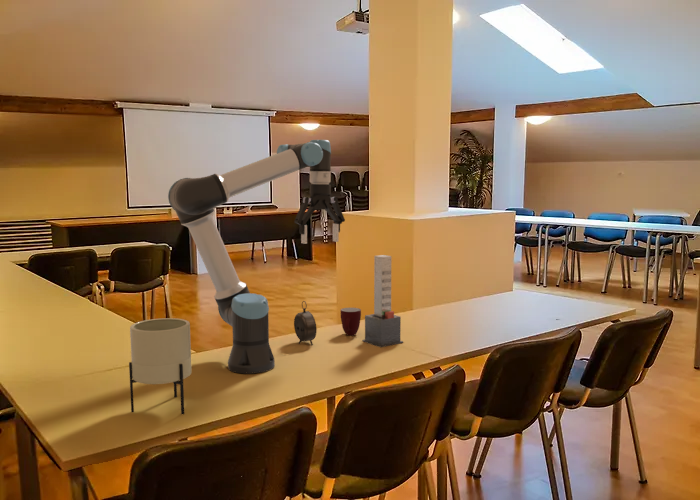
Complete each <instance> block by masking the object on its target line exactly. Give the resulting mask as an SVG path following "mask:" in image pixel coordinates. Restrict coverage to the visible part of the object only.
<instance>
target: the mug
mask: <svg viewBox="0 0 700 500" xmlns="http://www.w3.org/2000/svg"><path fill="white" fill-rule="evenodd" d="M361 317H362V309H361V308H358V307H344V308H340V322H341V326H342V330H343V332H344V333H345V335H346V336H349V337H350V336H356V334H357V333H358V331H359V329H360V323H361V319H362V318H361Z"/></svg>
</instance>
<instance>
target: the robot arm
mask: <svg viewBox="0 0 700 500" xmlns="http://www.w3.org/2000/svg"><path fill="white" fill-rule="evenodd" d="M331 147H332V146H331V142H330V141H329V140H328V139H311V140H309V142H305V143H297V144H280V145H278V146H277V150H276V153H275V154H273V155H270V156H268V157H265V158H262V159H260V160H257V161H255V162H252V163H249V164H246V165H243V166H241V167H239V168H236V169H233V170H230V171H228V172H225V173H222V174H217V173H213V174H210V175H208V176H203V177H197V178H196V177H194V178H193V177H192V178H191V177H183V178H180V179H178V180H177V181H175V182H174V183H173V184H172V185H171V186H170V188H169V189H168V193H167V194H168V196H167V198H168V203H169V205H170V207H171V208H172V209H173V210H174V212H175V213H176V216H177V217H178V220H179V222H180V225H181V226H184V227H186V228H188V230H189V233H190V235H191V237H192V239H193V242H194V244H195V246H196V248H197V251H198V253H199V255H200V257H201V259H202V262H203V264H204V266H205V268H206V271H207V273H208V275H209V277H210V281H211V283H212V284H213V286H214V289H215V294H214V296H213V297H214V300H215V302H216V304H217V311H218V314H219V316H220V318H221V319H222V320H223V322H225V324H228V325H229V326H231V327H232V348H231V350H230V352H229V356H228V360H227V369H228V370H229V371H230V372H232V373H237V374H245V375H246V374H247V375H248V374H249V375H250V374H259V373H265V372H267V371H270V370H272V369H274V368H275V365H276V364H275V356H274V353H273V352H272V348H271V345H270V339H269V338H270V337H269V336H270V333H269V330H270V329H269V328H270V327H269V311H270V308H269V301H268V299H267V298H266V297H265V296H264V295H262V294H257V293H251V291H250V290H249V288H248V285H247V282H243V281H241V280H240V277H239V276H238V273H237V271H236V269H235V267H234V264H233V261H232V259H231V258H230V255H229V252H228V250H227V247H226V246H225V243H224V241H223V238H222V237H221V234H220V231H219V230H218V227H217V225H216V223H215V220H214V218H213V217H214V214H215V208H216V207H220V206H221V205H223V204H226V203H228V201H229V199H230V198H233V197H235V196H236V195H239V194H242V193H245V192H248V191H250V190H253V189H255V188H258V187H260V186H262V185H265V184H268V183H270V182H272V181H275V180H277V179H280V178H282V177H285V176H287V175H290V174H293V173H295V172H297V171H300V170H304V169H306V168H309V183H310V184H309V196H308V197H307V196H303V197H302V199H301V205H300V207H299V209H298V212H297V214H296V216H295V219H294V221H293V222H294V224H297V225H299V228H298V229H299V231H298V233H299V234H300V241H301V244H303V245H304V244H308V225H307V222H308V221H309V220H310V219H311V216H312V215H313V214H314V212H315V211H316V210H318V211H319V210H324V211H326V213H327V214H328V215H329V217H330V218H331V219H332V221H333V222H334V223H332V242H335V243H338V242H339V239H340V238H339V233H340V232H341V224H343V222H345V221H346V219H345V217H344V214H343V212H342V209H341V207H340V204H339V199H338V197H337V196H331V187H332V186H331V184H330V183H331V182H332V181H331V177H332V175H331V174H332V173H331V172H332V171H331V166H332V165H331V161H332V157H331V155H332V148H331ZM309 203H310V205H309ZM331 205H332V206H331Z"/></svg>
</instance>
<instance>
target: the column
mask: <svg viewBox="0 0 700 500" xmlns="http://www.w3.org/2000/svg"><path fill="white" fill-rule="evenodd" d="M373 257H374V259H373V260H374V265H373V267H374V268H373V269H374V270H373V271H374V276H373V277H374V280H373V281H374V287H373V288H374V290H373V293H374V295H373V296H374V299H373V301H374V305H373V306H374V307H373V310H374V311H373V314H374V317H377V318H380V319H383V318H385V312H387V311H392V256H391V255H387V254H386V255H385V254H379V255H374V256H373Z"/></svg>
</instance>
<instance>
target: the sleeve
mask: <svg viewBox="0 0 700 500" xmlns="http://www.w3.org/2000/svg"><path fill="white" fill-rule="evenodd" d="M401 318H402V317H401V316H400V315H395V311H393V310H391V311H387V312H385V318H383V319H380V318H377V317H374V313H372V314H366V315H365V316H364V339H362V340H361V342H363V343H365V344H369V345H372V346H374V347H378V348H385V347H389V346H394V345H399V344H404V341H403V340H401V320H402V319H401Z"/></svg>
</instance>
